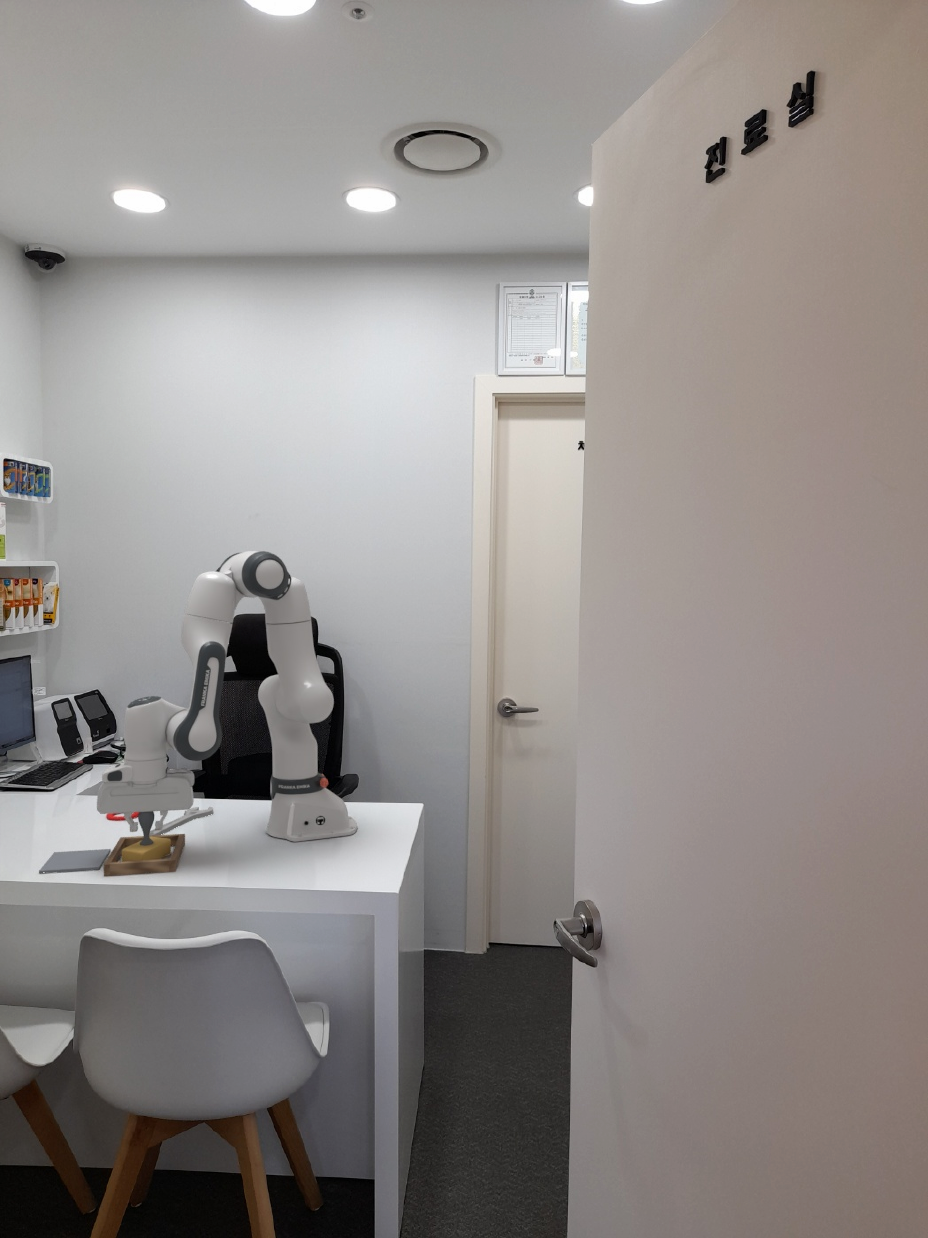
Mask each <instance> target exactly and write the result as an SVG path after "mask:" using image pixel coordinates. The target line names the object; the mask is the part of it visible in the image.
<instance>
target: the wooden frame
mask: <svg viewBox="0 0 928 1238" xmlns="http://www.w3.org/2000/svg"><path fill="white" fill-rule="evenodd" d="M149 837H150V836H149ZM152 837H160V838H168V839H170V840H171V847H173V849H172V852H171V855H170V857H169V858H161V859H158V860H141V861H125V862H122V861H120V859H121V858H122V850H123V849H124V848H126V847H128V846H130V845H132V844H135V843H137V842H139V841H141V840H143V838H144V835H138V836H122V837H120V838H119V839H118V841H117V842H116V844H115V845H114V847H113V849H112V850H111V852H110V853H109V855H108V856H107V858H106V860H105V861H104V863H103V877H112V876H113V877H114V876H128V875H142V874H143V875H144V874H158V873H159V874H161V873H174V872H176V870H177V867H178V864H179V862H180V859H181V856H182V853H183V852H184V848H185V846H186V834H185V833H176V834H175V833H174V834H162V835H154V836H152Z"/></svg>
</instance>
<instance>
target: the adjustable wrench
mask: <svg viewBox="0 0 928 1238" xmlns="http://www.w3.org/2000/svg"><path fill="white" fill-rule="evenodd" d="M211 814H212V815H213V814H214V808H213V807H211V806H209V807H207V809H201V810H200V809H199V806H196V807H191V808H190V809H188V810H184V813H183V815H182V816H180V817H178V818H175V819H173V820H170V821H169V822H167V823H165V824H164V823H163V829H162V830H155V828H154V829H152V830H150V834H149V836H154V835H161V834H162V835H164V834H166V833H168V832H171V831H173V830H174V828H175V829H177V828H178V826H179V827H180V826H182V825H185V824H186V823H189V822H191V821H193V819H194V820H197V819H196V818H198V819H201V818H205V816H206V817H209V816H208V815H210V816H212V815H211ZM176 827H177V828H176ZM170 830H171V831H170ZM163 833H164V834H163Z"/></svg>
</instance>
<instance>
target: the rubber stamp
mask: <svg viewBox="0 0 928 1238" xmlns="http://www.w3.org/2000/svg"><path fill="white" fill-rule="evenodd" d="M137 819H138V820H137V821H138V825H139V826H140V828H141V832H142V834H143V835H142V836H144V838H143V840H141V841H139V842H137V843H135V844H132V845H130V846H128V847H126V848H124V849H123V850H122V856H121V862H125V861H141V860H158V859H164V858H165V857H167V856H170V854H171V855H172V852H171V850H172V849H171V848H172V846H171V840H170V839H168V838H160V837H152V836H150V837H149V834H150V831H151V829H152V826H153V824H154V823H155V811H150V812H139V814H138V817H137Z"/></svg>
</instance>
